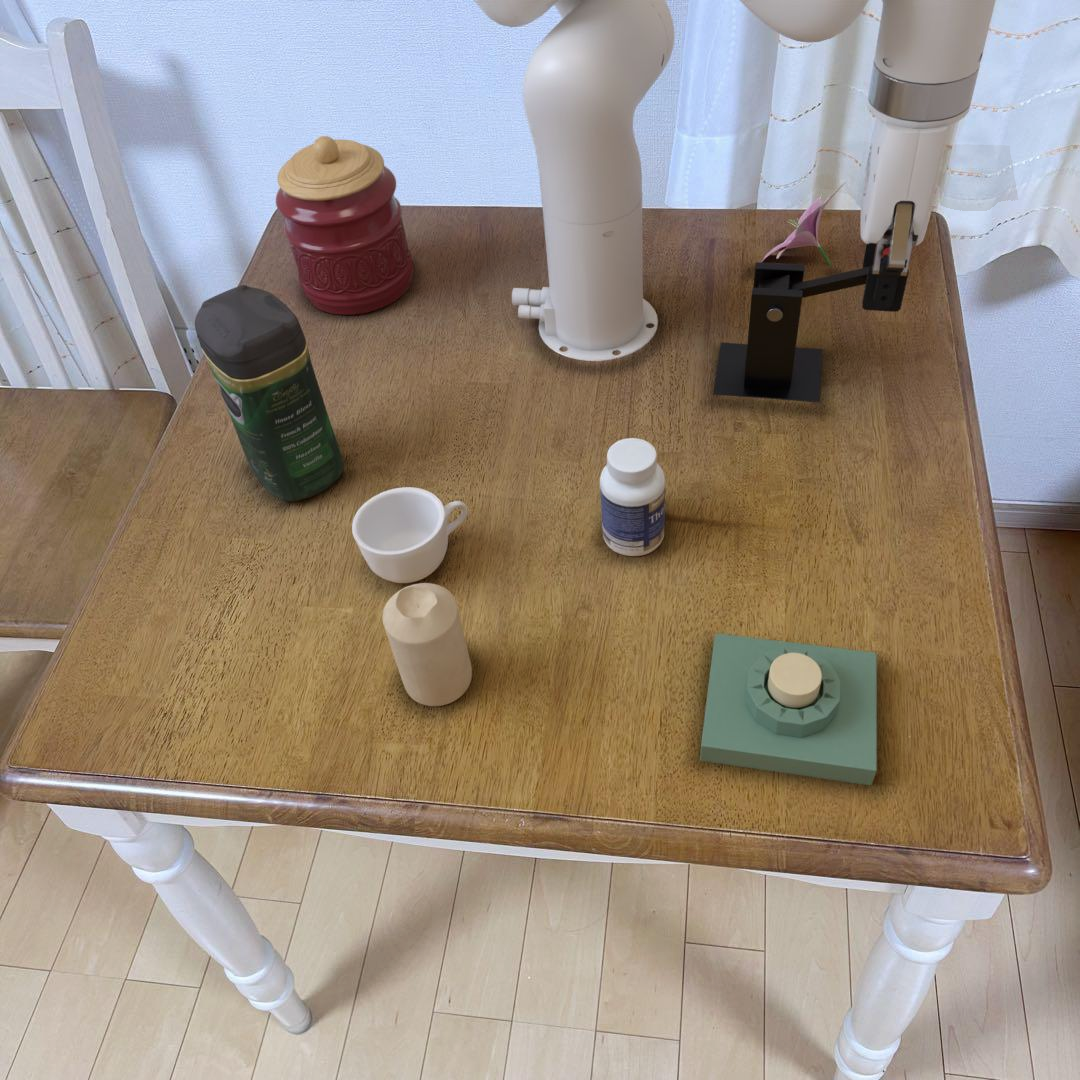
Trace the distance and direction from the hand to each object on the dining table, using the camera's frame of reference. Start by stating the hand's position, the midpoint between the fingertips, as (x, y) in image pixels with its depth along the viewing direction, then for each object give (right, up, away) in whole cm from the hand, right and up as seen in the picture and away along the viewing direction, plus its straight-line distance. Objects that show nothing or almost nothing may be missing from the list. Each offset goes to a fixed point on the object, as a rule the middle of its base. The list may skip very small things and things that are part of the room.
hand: (880, 287), depth 90 cm
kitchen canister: (-51, +7, +27) cm, 58 cm away
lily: (-2, +8, +23) cm, 24 cm away
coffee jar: (-53, -16, +8) cm, 56 cm away
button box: (-12, -35, -15) cm, 40 cm away
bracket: (-8, -7, +10) cm, 15 cm away
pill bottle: (-22, -22, -1) cm, 31 cm away
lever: (-4, 0, +2) cm, 4 cm away
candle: (-38, -33, -10) cm, 52 cm away
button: (-12, -33, -17) cm, 39 cm away
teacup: (-41, -24, -1) cm, 47 cm away
